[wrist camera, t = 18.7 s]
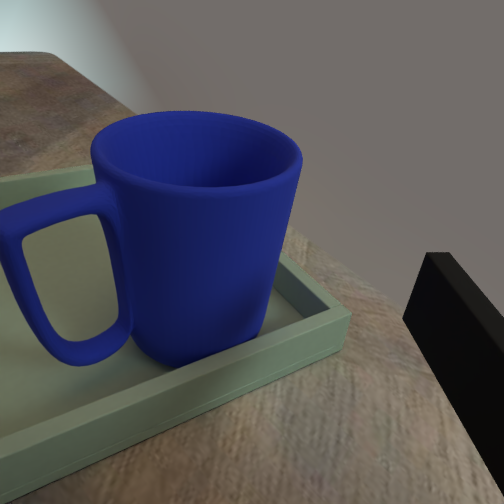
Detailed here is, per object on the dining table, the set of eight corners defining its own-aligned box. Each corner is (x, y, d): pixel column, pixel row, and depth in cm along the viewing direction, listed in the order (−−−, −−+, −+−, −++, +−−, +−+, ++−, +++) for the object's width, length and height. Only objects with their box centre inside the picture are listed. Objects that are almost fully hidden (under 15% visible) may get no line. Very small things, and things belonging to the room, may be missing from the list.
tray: (342, 350, 24) (352, 312, 23) (-43, 526, 16) (-66, 485, 14) (171, 181, 39) (171, 152, 37) (-76, 225, 30) (-90, 189, 29)
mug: (2, 354, 21) (-62, 147, 16) (206, 262, 28) (213, 100, 23) (88, 487, 16) (42, 262, 11) (306, 337, 24) (345, 156, 18)
